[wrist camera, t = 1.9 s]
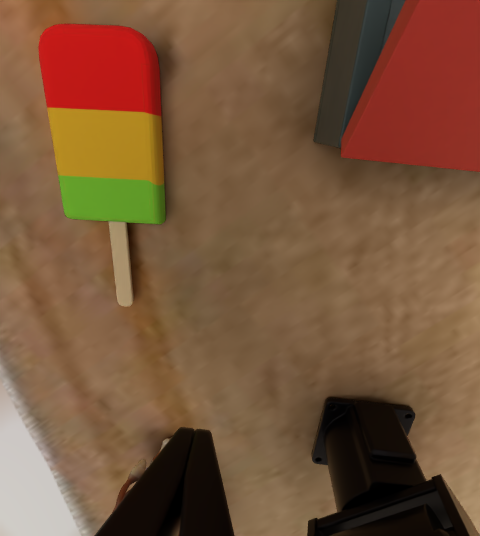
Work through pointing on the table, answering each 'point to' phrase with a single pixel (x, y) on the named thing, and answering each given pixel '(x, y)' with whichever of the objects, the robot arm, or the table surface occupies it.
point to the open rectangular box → (352, 61)
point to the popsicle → (106, 130)
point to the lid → (423, 91)
